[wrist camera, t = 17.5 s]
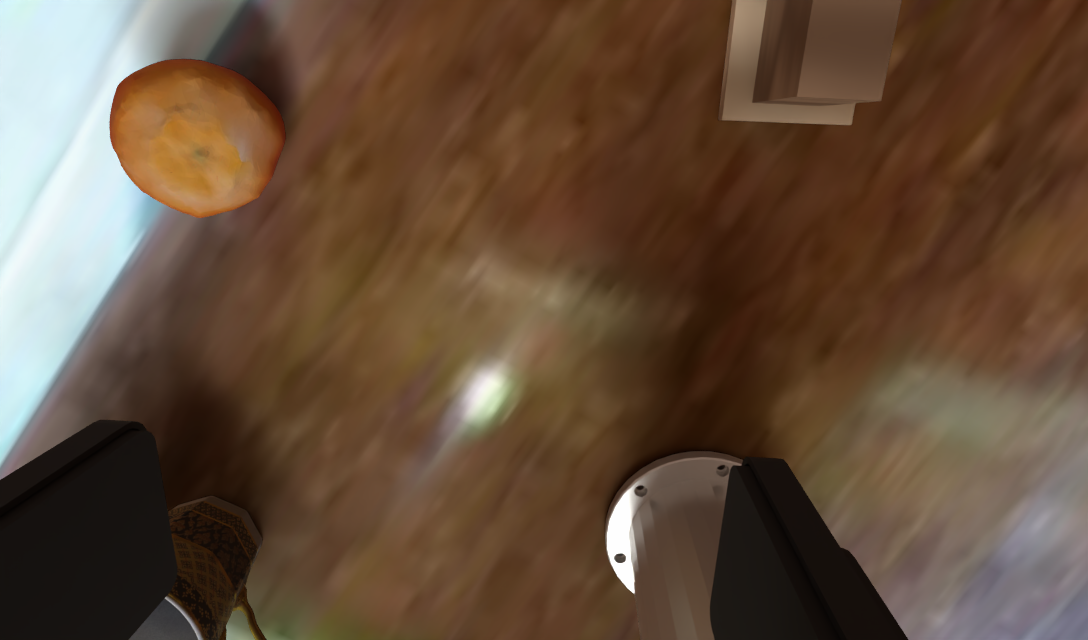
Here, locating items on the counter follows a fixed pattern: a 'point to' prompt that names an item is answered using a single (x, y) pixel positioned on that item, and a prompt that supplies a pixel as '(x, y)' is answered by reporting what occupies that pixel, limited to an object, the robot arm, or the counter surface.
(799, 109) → the rest board
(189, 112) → the fruit
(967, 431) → the counter surface
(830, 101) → the brown block
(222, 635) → the ceramic cup
